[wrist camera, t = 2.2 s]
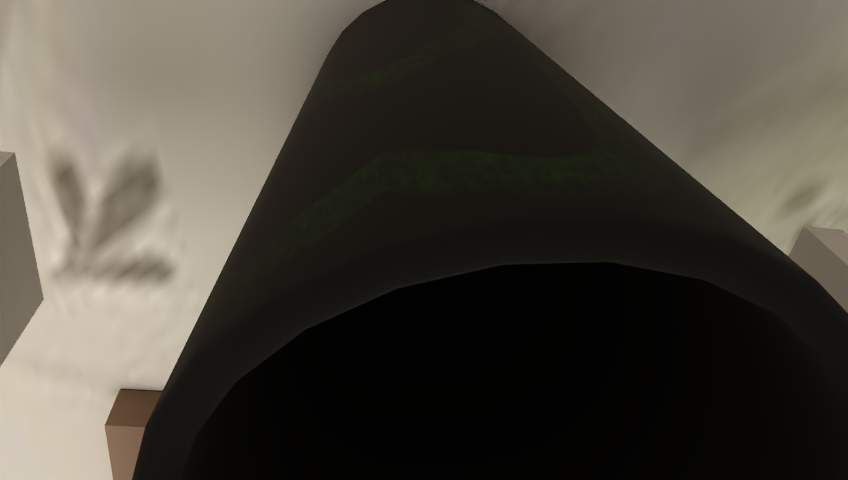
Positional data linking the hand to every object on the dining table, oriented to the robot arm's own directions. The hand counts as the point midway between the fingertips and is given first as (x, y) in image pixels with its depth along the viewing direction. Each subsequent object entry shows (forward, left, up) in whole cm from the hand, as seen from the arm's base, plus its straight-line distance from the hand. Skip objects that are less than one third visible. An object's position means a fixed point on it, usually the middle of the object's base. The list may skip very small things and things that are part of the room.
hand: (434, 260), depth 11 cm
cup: (0, 0, -7) cm, 7 cm away
